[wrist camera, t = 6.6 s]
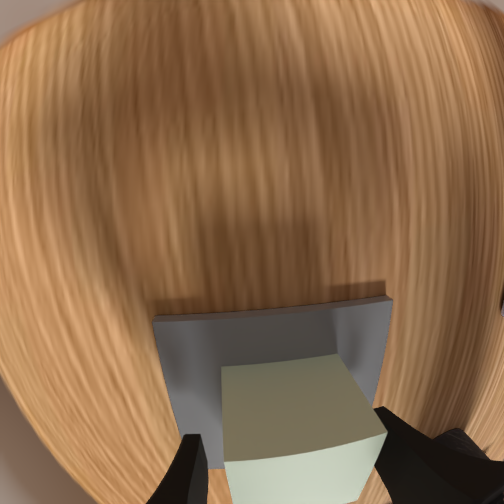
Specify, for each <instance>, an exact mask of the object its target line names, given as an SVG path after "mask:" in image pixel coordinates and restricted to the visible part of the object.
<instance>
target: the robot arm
mask: <svg viewBox="0 0 504 504" xmlns="http://www.w3.org/2000/svg"><path fill="white" fill-rule="evenodd" d="M501 315H502V316H503V317H504V302H503V306H502V310H501ZM374 411H375V413H376V414H377V416H378V417H379V419H380V420H381V422H382V424H383V425H384V427H385V428H386V430H387V432H388V433H387V436H386V438H385V441H384V443H383V446H382V448H381V450H380V453H379V455H378V457H377V460H376V462H375V464H374V466H375V468H376V470H377V472H378V474H379V475H380V477H381V479H382V481H383V483H384V485H385V486H386V488H387V490H388V492H389V494H390V497H391V499H392V502H393V504H504V500H503V499H504V493H503V492H504V461H493V460H487V459H482V458H477V457H473V456H470V455H467V454H464V453H461V452H458V451H455V450H453V449H450V448H448V447H446V446H444V445H442V444H440V443H438V442H436V441H434V440H432V439H430V438H429V437H427V436H425V435H424V434H422V433H420V432H419V431H417V430H416V429H414V428H413V427H411V426H410V425H409V424H407V423H406V422H404V421H403V420H402V419H400V418H399V417H397V416H396V415H395V414H393V413H392V412H391V411H389V410H388V409H387V408H385V407H384V406H382V407H379V408H375V409H374ZM207 494H208V460H207V457H206V453H205V449H204V445H203V442H202V438H201V434H185V435H183V438H182V441H181V444H180V446H179V449H178V451H177V453H176V455H175V457H174V460H173V462H172V463H171V465H170V467H169V469H168V471H167V473H166V475H165V476H164V478H163V480H162V481H161V483H160V484H159V486H158V488H157V489H156V491H155V492H154V493H153V495H152V496H151V498H150V499H149V500H148V501H147V503H146V504H207Z"/></svg>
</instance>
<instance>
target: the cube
mask: <svg viewBox="0 0 504 504" xmlns="http://www.w3.org/2000/svg"><path fill="white" fill-rule="evenodd" d="M221 384H222V425H223V454H224V465H225V470H226V475H227V479H228V484H229V488H230V493H231V497H232V501H233V504H346V503H349V502H353V501H356V500H357V499H358V497H359V495H360V493H361V491H362V489H363V487H364V485H365V483H366V481H367V479H368V477H369V475H370V473H371V471H372V469H373V467H374V464H375V462H376V460H377V457H378V455H379V453H380V450H381V448H382V446H383V443H384V441H385V438H386V436H387V433H388V432H387V430H386V428H385V427H384V425H383V424H382V422H381V420H380V419H379V417H378V416H377V414H376V413H375V411H374V409H373V408H372V406H371V405H370V403H369V402H368V400H367V398H366V397H365V395H364V394H363V392H362V391H361V389H360V387H359V386H358V384H357V383H356V381H355V380H354V378H353V377H352V375H351V373H350V372H349V370H348V369H347V367H346V366H345V364H344V363H343V361H342V360H341V358H340V356H339V355H338V354H332V355H326V356H319V357H312V358H305V359H298V360H290V361H281V362H272V363H262V364H251V365H238V366H223V367H221Z"/></svg>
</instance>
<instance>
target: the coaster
mask: <svg viewBox="0 0 504 504" xmlns="http://www.w3.org/2000/svg"><path fill="white" fill-rule="evenodd" d="M392 305H393V300H392V299H391V298H390V297H388V296H387V295H385V296H378V297H371V298H363V299H356V300H348V301H340V302H332V303H323V304H314V305H305V306H295V307H285V308H274V309H263V310H250V311H237V312H222V313H205V314H184V315H158V316H155V317H154V319H153V321H152V324H153V329H154V334H155V339H156V344H157V349H158V353H159V358H160V362H161V366H162V370H163V375H164V379H165V383H166V386H167V390H168V394H169V398H170V401H171V405H172V409H173V412H174V415H175V419H176V422H177V426H178V429H179V432H180V435H181V438H183V435H185V434H201V438H202V442H203V445H204V449H205V453H206V457H207V460H208V469H225V465H224V454H223V425H222V384H221V367H223V366H238V365H251V364H262V363H272V362H281V361H290V360H298V359H305V358H312V357H319V356H326V355H332V354H338V355H339V356H340V358H341V360H342V361H343V363H344V364H345V366H346V367H347V369H348V370H349V372H350V373H351V375H352V377H353V378H354V380H355V381H356V383H357V384H358V386H359V387H360V389H361V391H362V392H363V394H364V395H365V397H366V398H367V400H368V402H369V403H370V405H371V406H372V404H373V401H374V397H375V393H376V389H377V385H378V381H379V376H380V372H381V367H382V363H383V358H384V353H385V348H386V342H387V337H388V331H389V325H390V318H391V312H392Z"/></svg>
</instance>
